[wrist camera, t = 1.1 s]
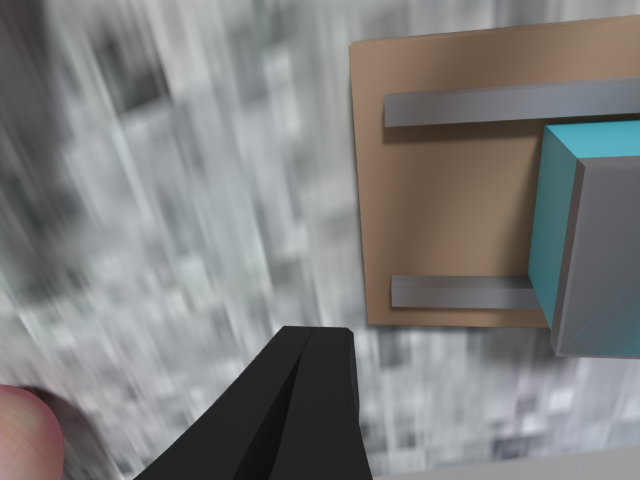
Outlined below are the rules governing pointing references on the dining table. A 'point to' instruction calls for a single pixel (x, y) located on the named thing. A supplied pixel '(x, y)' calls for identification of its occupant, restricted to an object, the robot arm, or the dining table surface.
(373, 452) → the dining table surface
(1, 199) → the dining table surface
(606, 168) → the fader tab
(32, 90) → the dining table surface
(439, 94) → the fader console
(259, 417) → the robot arm
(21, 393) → the decorative fruit
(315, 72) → the dining table surface
